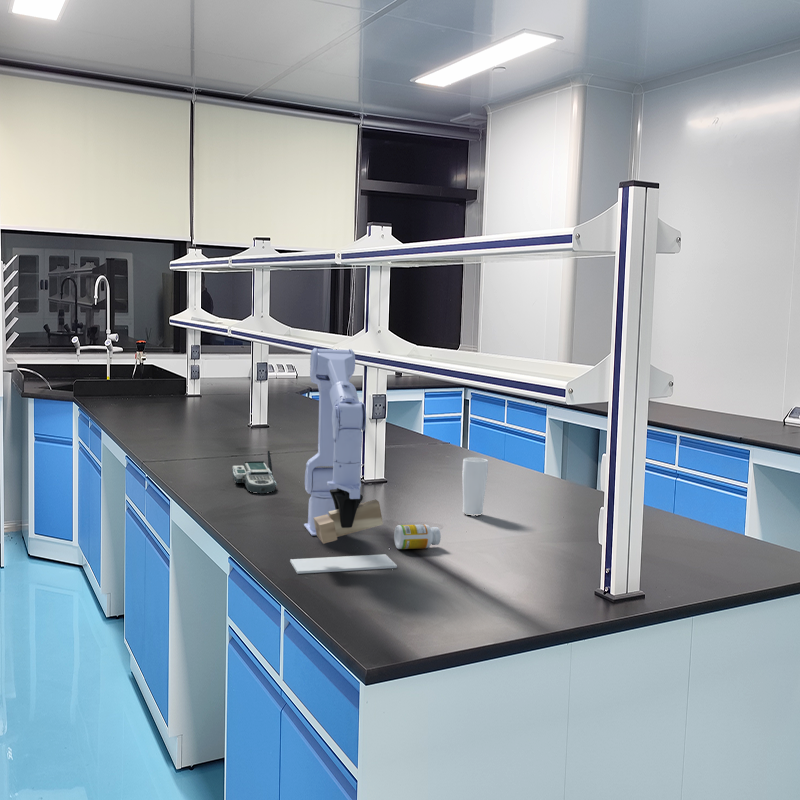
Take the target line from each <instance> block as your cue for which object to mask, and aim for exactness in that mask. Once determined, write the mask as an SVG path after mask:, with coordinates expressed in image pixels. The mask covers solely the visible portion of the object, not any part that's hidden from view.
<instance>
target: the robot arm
mask: <svg viewBox="0 0 800 800" xmlns="http://www.w3.org/2000/svg"><path fill="white" fill-rule="evenodd" d="M309 363H310V367H309V368H310V370H309V378H310V382H311V383H313V384H315V385H317V389H318V397H319V398H318V438H317V442H318V443H317V453H315V454H314V455H313V456H312V457H310V458H309V459H308V460H307V462H306V463H305V472H304V488H305V491H306V493H307V494H309V495H310V497H309V498H308V510H307V513H308V514H307V515H308V516H307V523H303V526H304V527H305V528H306V530H307V531H308V533H309V534H310V535H311V536H317V534H316V529H315V524H314V519H313V518H314V517H318V516H322V515H326V514H327V515H328V516H329V513H328V512H329V511H333V510H337V509H339V512H340V522H341V527H342V528H351V527H352V525H353V522H354V518H355V514H356V511H357V508H358V506H359V504H360V503H362V501H363V499H364V498H363V497H364V496H363V494H361V487H362V482H361V472H362V470H361V469H362V448H363V447H362V446H363V444H362V443H363V432H365V429H366V424H367V410H366V405H365V403H364V402H362V401H360V399H359V397H358V393H357V389H356V387H355V385H354V384H353V383H352V382H350V380H351V378H352V376H353V375H354V373H355V369H356V354H355V351H354V350H353V349H352V348H350V349H329V348H327V349H326V348H317V347H314V348H313V349H312V350H311V352H310V360H309Z"/></svg>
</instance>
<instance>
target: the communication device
mask: <svg viewBox="0 0 800 800" xmlns="http://www.w3.org/2000/svg"><path fill="white" fill-rule="evenodd" d="M242 463H243V464H242V465H232V470H231V472H232V478H233V477H234V479H233V481H234V480H235V481H236V482H237V483H244V484H243V485H245V487H246V489H247V491H248V492H249V491H251V492H257V493H267V492H272V491H273V492H274V491H276V487H277V486H278V484H277V481H276V480H275V478H274V476H273V464H272V458H271V453H270V450H267V464H266V461H265V460H262V461H261V460H254V461H253V460H252V461H248V460H246V461H243V462H242ZM267 465H268V466H267ZM273 492H272V493H273Z"/></svg>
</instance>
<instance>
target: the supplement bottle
mask: <svg viewBox="0 0 800 800" xmlns="http://www.w3.org/2000/svg"><path fill="white" fill-rule="evenodd" d="M393 534H394V535H393V540H394V545H395V548H396V549H398V550H411V549H412V550H414V549H415V550H416V549H417V550H419V549H427V548H430V546H431V545H432V546H437V545H440V543H441V540H442V539H441V537H442V535H441V530H440V528H439V527H438V526H432V527H430V525H428V524H398V525H396V526H395V528H394V533H393Z"/></svg>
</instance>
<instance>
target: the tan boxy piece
mask: <svg viewBox="0 0 800 800" xmlns="http://www.w3.org/2000/svg"><path fill="white" fill-rule="evenodd" d="M328 513H329V516H328V515H327V514H326V515H322V516H318V517H314V518H313V519H314V524H315V529H316V534H317V535H316V537H317V538H318V539H319V540H320V542H321V543H322V544H323V545H324V544H327V543H331V542H335V541H338V537H343V536H346V535H350V534H353V533H357V532H358V533H359V532H361V531H364V530H368V529H372V528H376V527H378V526H380V527H381V526H382V525H383V526H384V521H383V515H382V511H381V504H380V501H378V500H377V499H372V500H369V501H364V502H360V504H359V506H358V508H357V511H356V514H355V518H354V522H353V525H352V527H351V528H342V527H341V522H340V512H339V509H337V510H333V511H329V512H328Z"/></svg>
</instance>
